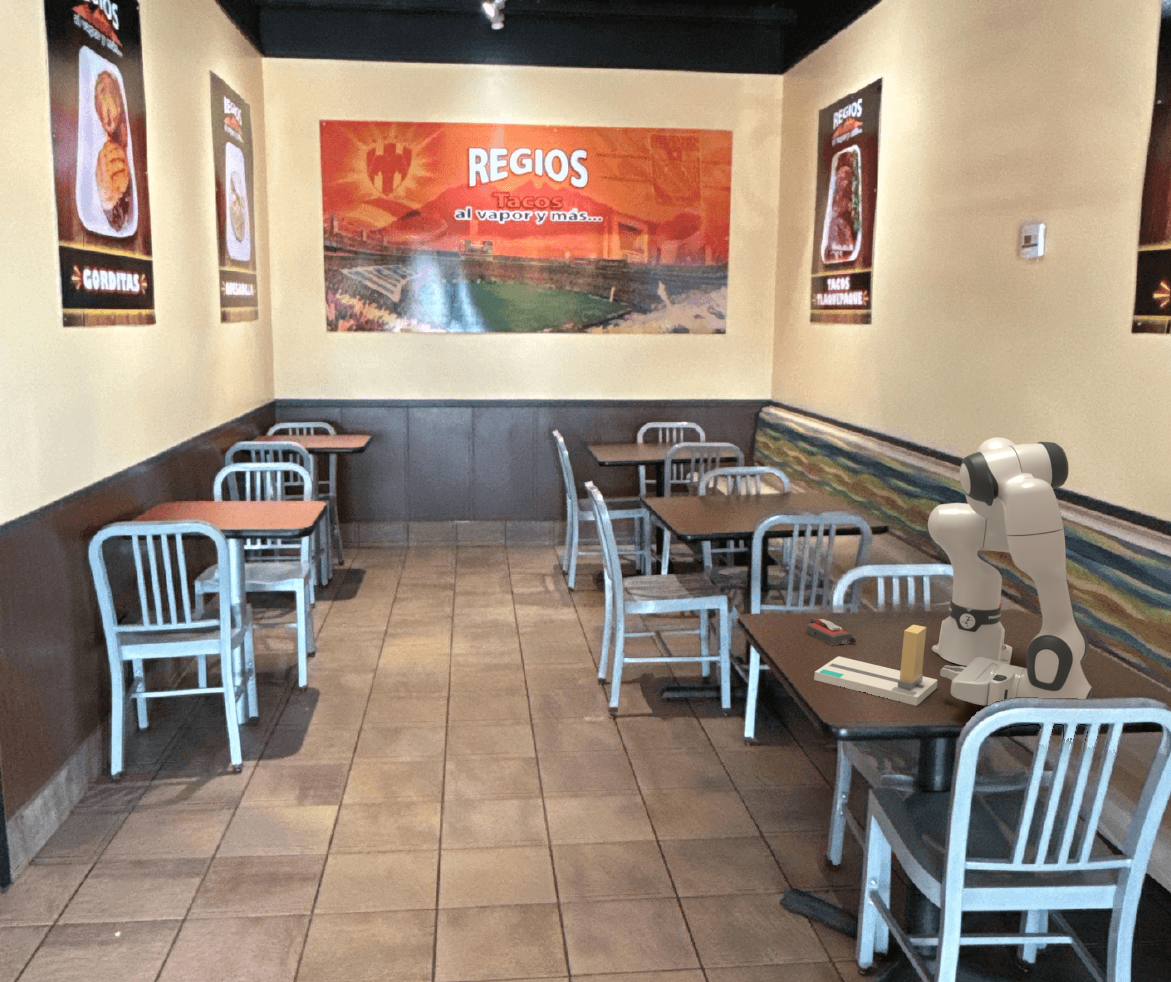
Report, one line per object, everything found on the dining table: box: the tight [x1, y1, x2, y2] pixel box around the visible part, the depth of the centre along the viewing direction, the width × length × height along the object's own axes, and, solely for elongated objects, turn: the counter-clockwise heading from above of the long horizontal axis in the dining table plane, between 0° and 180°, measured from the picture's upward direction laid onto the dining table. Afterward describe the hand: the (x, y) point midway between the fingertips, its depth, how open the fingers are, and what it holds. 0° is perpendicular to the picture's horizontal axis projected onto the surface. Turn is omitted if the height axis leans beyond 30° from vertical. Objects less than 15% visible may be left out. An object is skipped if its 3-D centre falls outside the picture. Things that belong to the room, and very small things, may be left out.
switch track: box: [813, 655, 938, 707], centre depth 240 cm, size 14×24×2 cm, turn 54°
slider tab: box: [898, 624, 927, 690], centre depth 234 cm, size 8×3×13 cm, turn 144°
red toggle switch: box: [806, 616, 857, 645], centre depth 275 cm, size 9×4×20 cm
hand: (942, 670), depth 231 cm, fingers closed
